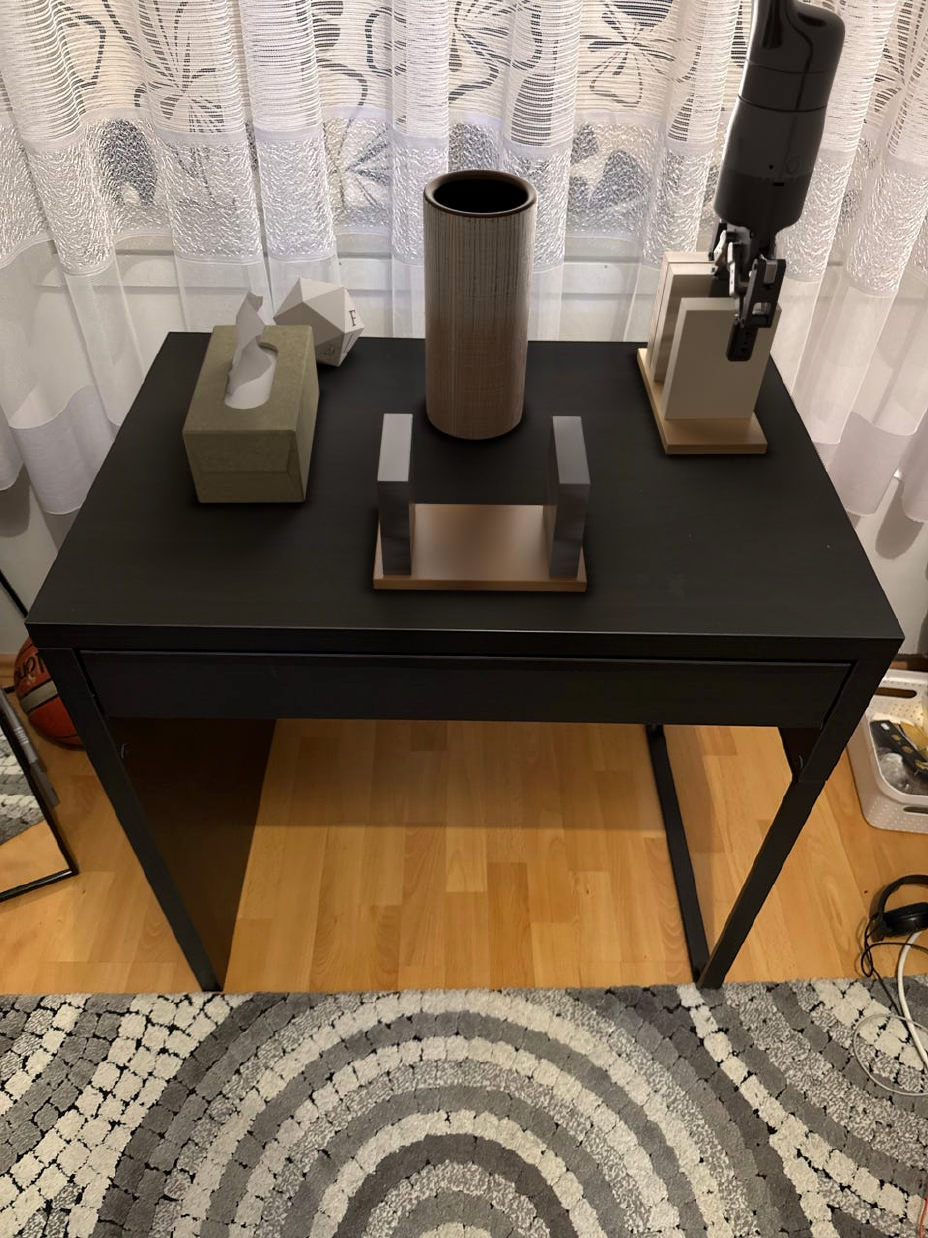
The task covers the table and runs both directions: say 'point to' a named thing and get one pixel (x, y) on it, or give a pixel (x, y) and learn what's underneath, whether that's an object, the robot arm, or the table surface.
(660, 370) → the cream book rack
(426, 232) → the planter
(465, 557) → the grey book rack
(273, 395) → the tissue box
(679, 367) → the cream book
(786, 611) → the table surface
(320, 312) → the die
